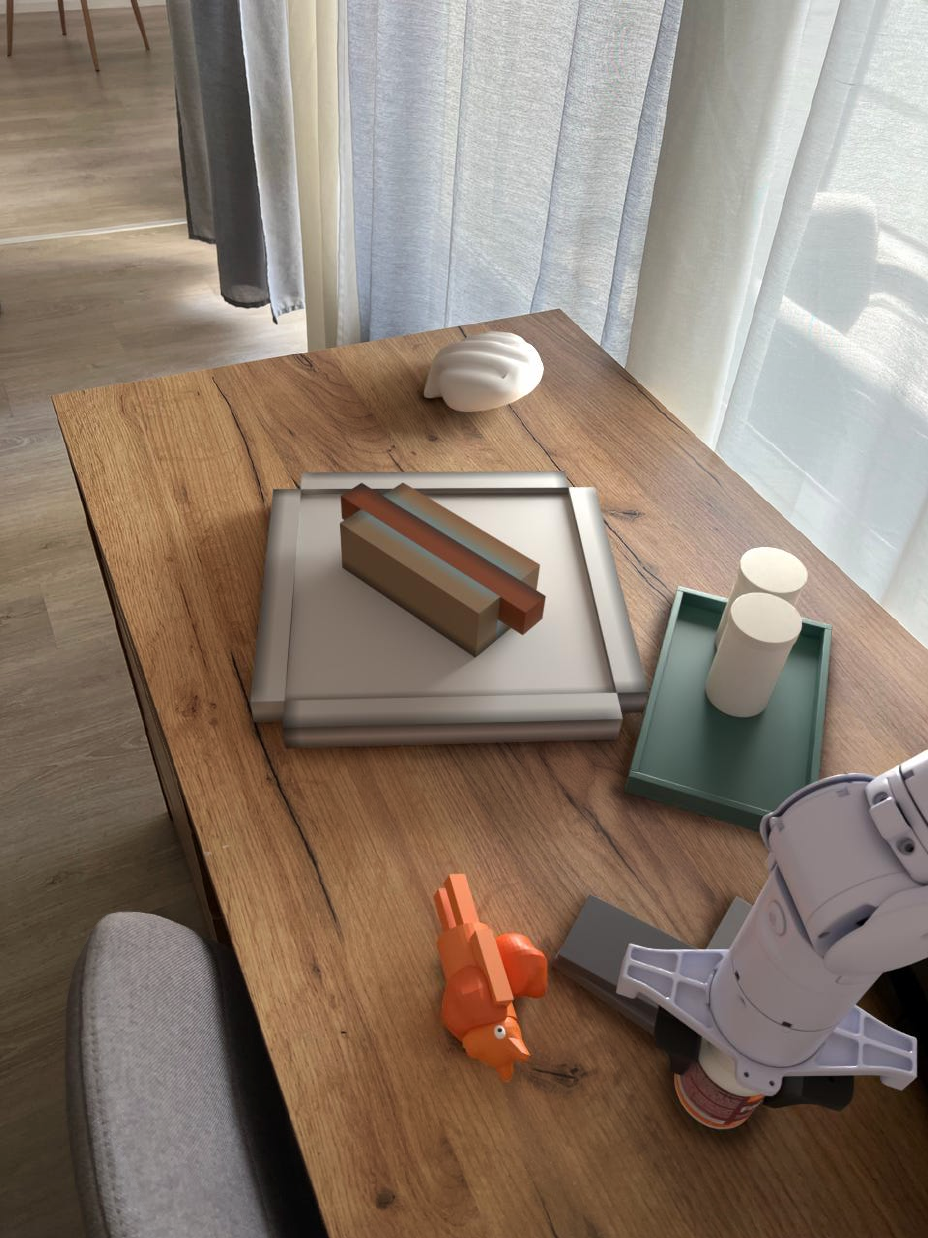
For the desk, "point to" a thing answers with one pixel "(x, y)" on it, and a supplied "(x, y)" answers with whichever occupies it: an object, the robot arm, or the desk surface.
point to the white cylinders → (756, 631)
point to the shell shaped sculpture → (484, 372)
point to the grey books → (604, 943)
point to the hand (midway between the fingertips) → (722, 1072)
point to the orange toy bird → (484, 979)
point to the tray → (728, 724)
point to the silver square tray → (442, 612)
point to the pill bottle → (715, 1090)
